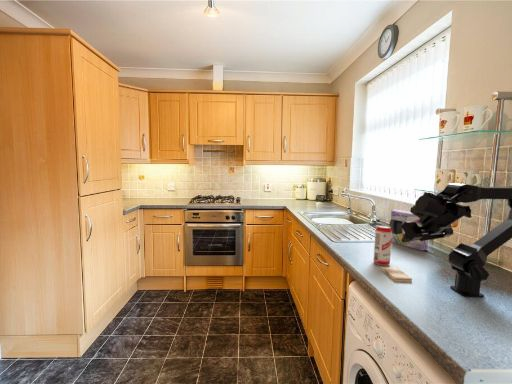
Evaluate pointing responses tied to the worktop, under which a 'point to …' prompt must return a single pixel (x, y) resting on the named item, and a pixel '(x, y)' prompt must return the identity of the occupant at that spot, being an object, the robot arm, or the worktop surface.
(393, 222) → the cake pan box
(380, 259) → the beer can
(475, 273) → the robot arm
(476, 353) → the worktop surface
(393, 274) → the chopping board
